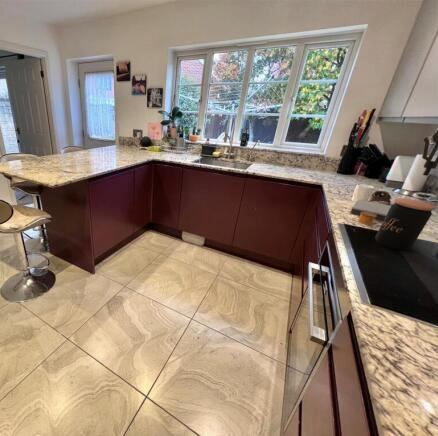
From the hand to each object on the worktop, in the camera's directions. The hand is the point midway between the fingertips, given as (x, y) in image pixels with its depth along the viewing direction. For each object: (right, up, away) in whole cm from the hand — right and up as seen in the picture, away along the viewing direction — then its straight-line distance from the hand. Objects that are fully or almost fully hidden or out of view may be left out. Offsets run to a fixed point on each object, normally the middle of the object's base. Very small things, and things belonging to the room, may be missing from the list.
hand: (425, 175), depth 110 cm
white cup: (-4, -11, +30) cm, 32 cm away
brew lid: (-14, -16, +10) cm, 24 cm away
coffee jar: (-34, -32, -17) cm, 50 cm away
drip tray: (-15, -19, +12) cm, 27 cm away
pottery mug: (+8, -11, +31) cm, 34 cm away
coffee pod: (-29, -23, 0) cm, 37 cm away
